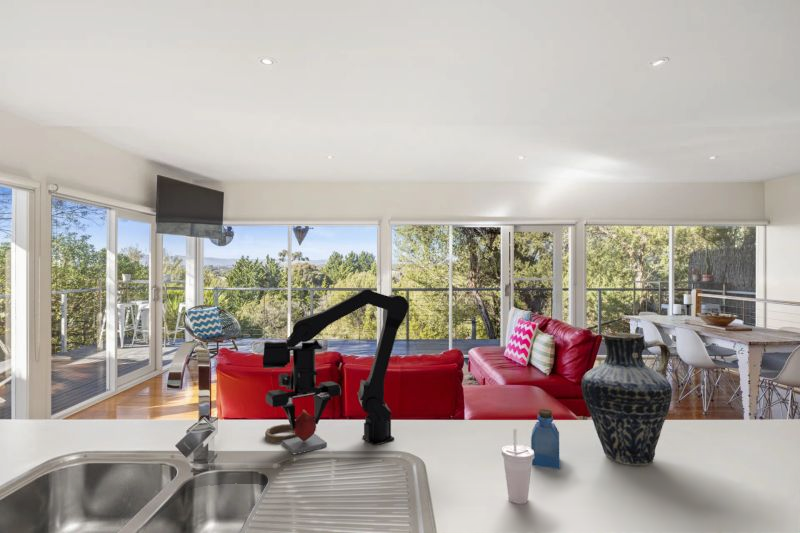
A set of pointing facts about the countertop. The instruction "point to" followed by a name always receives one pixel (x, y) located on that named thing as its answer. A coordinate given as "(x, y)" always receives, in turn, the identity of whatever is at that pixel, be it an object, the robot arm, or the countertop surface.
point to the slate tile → (304, 444)
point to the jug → (628, 398)
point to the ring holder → (277, 429)
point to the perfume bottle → (545, 441)
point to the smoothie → (517, 470)
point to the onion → (304, 426)
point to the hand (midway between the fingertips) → (304, 426)
